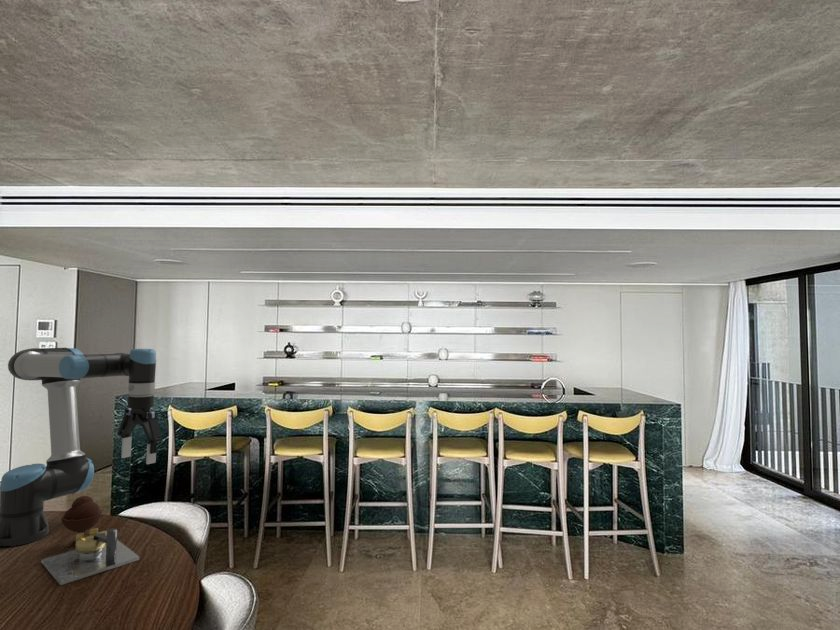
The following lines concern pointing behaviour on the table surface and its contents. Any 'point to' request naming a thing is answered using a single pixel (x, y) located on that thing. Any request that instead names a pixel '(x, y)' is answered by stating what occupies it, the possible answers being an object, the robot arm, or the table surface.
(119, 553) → the mounting plate
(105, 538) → the multicoloured piece
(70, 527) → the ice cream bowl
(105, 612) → the table surface
